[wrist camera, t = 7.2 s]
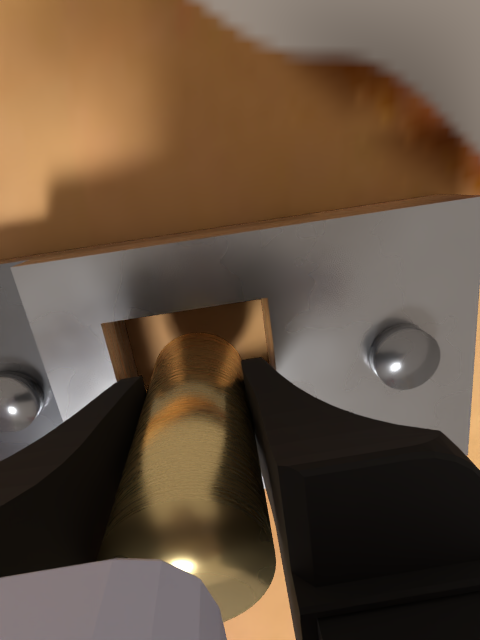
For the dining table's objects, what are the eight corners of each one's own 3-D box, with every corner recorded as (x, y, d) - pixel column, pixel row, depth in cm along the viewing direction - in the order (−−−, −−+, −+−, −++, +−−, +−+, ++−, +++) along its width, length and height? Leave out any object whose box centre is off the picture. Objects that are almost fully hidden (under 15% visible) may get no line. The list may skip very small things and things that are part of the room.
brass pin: (166, 418, 14) (124, 642, 7) (144, 341, 13) (71, 521, 6) (249, 402, 14) (286, 611, 7) (235, 324, 13) (261, 484, 6)
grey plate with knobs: (3, 486, 16) (-43, 551, 13) (-89, 273, 13) (-174, 298, 10) (431, 417, 16) (478, 466, 13) (438, 194, 13) (500, 196, 10)
